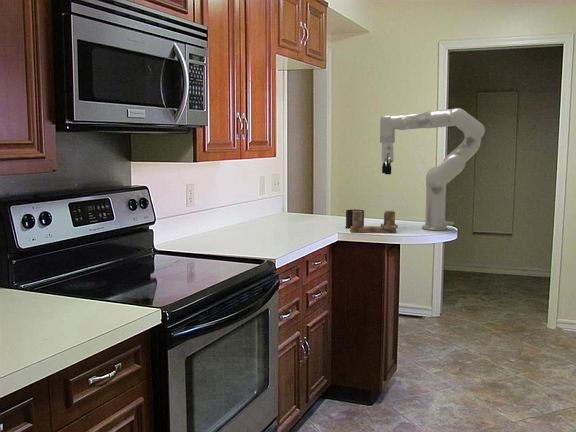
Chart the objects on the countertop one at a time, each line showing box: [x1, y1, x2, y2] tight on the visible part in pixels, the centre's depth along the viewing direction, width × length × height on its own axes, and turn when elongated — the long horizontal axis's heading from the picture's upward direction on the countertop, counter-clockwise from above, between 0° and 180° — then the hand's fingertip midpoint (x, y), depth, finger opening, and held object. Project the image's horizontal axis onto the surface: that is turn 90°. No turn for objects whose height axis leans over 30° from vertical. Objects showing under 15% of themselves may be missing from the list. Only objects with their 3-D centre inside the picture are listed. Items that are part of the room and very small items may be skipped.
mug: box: [345, 208, 365, 229], centre depth 325 cm, size 9×12×9 cm
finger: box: [383, 210, 396, 226], centre depth 310 cm, size 5×4×8 cm
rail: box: [349, 211, 399, 234], centre depth 310 cm, size 23×7×10 cm, turn 89°
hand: (386, 173), depth 319 cm, fingers open, 9 cm apart
